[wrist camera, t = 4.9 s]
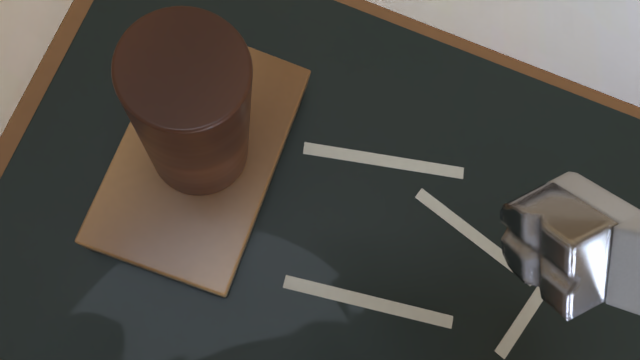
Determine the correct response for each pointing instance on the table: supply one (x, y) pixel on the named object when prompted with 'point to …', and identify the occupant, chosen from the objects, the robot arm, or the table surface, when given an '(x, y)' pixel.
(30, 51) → the table surface
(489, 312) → the slate board
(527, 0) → the table surface
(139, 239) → the peg on wooden base
